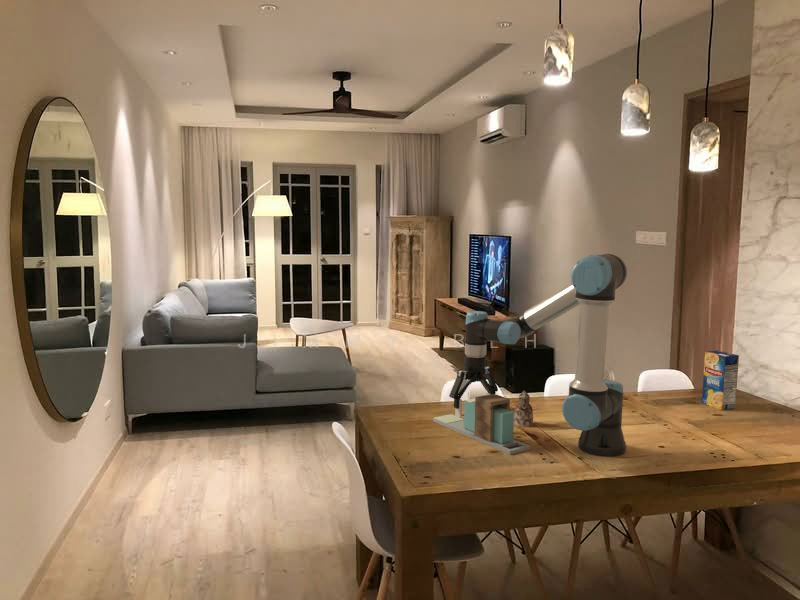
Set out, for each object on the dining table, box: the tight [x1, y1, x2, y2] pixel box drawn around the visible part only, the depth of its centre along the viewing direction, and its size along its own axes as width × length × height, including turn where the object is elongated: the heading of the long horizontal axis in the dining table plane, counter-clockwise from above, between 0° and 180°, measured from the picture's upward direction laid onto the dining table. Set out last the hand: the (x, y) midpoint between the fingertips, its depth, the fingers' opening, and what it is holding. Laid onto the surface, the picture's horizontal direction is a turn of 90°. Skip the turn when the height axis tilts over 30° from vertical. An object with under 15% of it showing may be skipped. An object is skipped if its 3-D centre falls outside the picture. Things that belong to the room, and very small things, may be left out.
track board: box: [432, 413, 531, 456], centre depth 234 cm, size 42×9×1 cm, turn 33°
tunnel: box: [475, 393, 511, 442], centre depth 227 cm, size 8×8×14 cm
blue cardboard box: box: [701, 349, 740, 411], centre depth 271 cm, size 7×11×22 cm, turn 18°
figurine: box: [514, 390, 534, 428], centre depth 246 cm, size 7×7×12 cm
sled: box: [463, 399, 515, 444], centre depth 229 cm, size 20×5×10 cm, turn 33°
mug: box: [467, 387, 488, 400], centre depth 269 cm, size 12×10×8 cm
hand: (473, 414), depth 235 cm, fingers open, 13 cm apart
